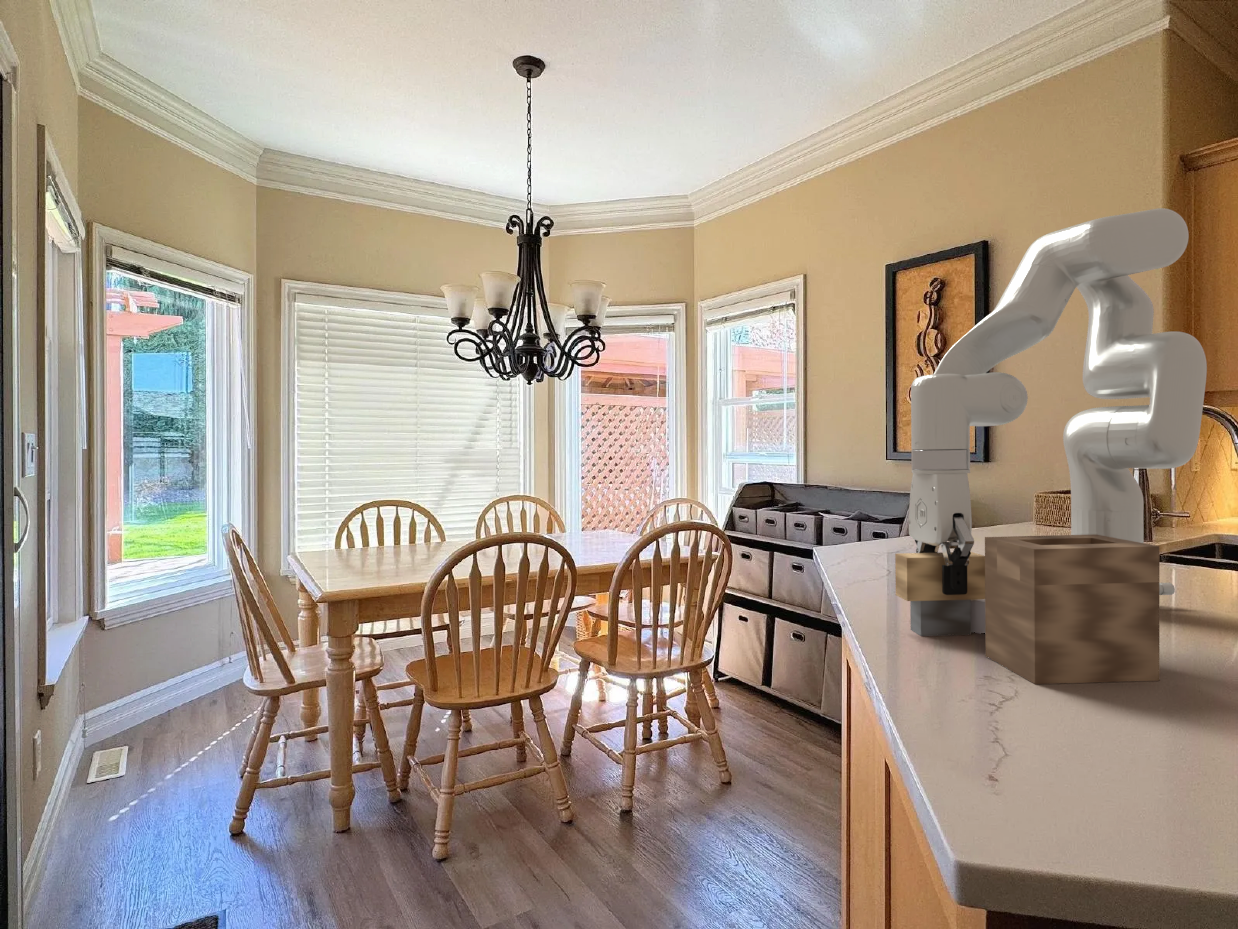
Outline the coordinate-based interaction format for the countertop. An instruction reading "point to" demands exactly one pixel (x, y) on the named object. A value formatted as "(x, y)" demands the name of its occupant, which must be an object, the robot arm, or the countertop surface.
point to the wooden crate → (1073, 608)
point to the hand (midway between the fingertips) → (941, 587)
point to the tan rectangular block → (937, 593)
